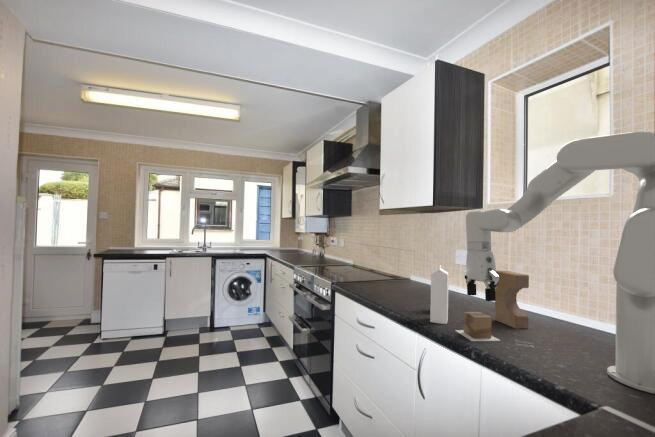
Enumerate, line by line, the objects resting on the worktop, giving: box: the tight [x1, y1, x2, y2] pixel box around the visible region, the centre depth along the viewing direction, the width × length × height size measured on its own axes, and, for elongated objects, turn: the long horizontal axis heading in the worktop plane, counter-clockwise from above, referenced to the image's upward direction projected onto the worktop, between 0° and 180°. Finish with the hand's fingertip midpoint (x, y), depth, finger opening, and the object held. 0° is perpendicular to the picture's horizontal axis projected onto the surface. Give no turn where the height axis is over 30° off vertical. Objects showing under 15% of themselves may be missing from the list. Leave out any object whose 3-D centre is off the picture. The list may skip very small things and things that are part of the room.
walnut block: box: [463, 311, 492, 339], centre depth 101 cm, size 6×6×7 cm
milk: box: [429, 264, 450, 325], centre depth 117 cm, size 6×6×22 cm
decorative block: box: [494, 270, 530, 330], centre depth 116 cm, size 11×6×20 cm, turn 10°
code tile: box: [514, 339, 535, 349], centre depth 95 cm, size 10×10×1 cm
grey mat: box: [454, 329, 501, 342], centre depth 101 cm, size 10×10×1 cm
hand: (480, 297), depth 101 cm, fingers open, 9 cm apart
